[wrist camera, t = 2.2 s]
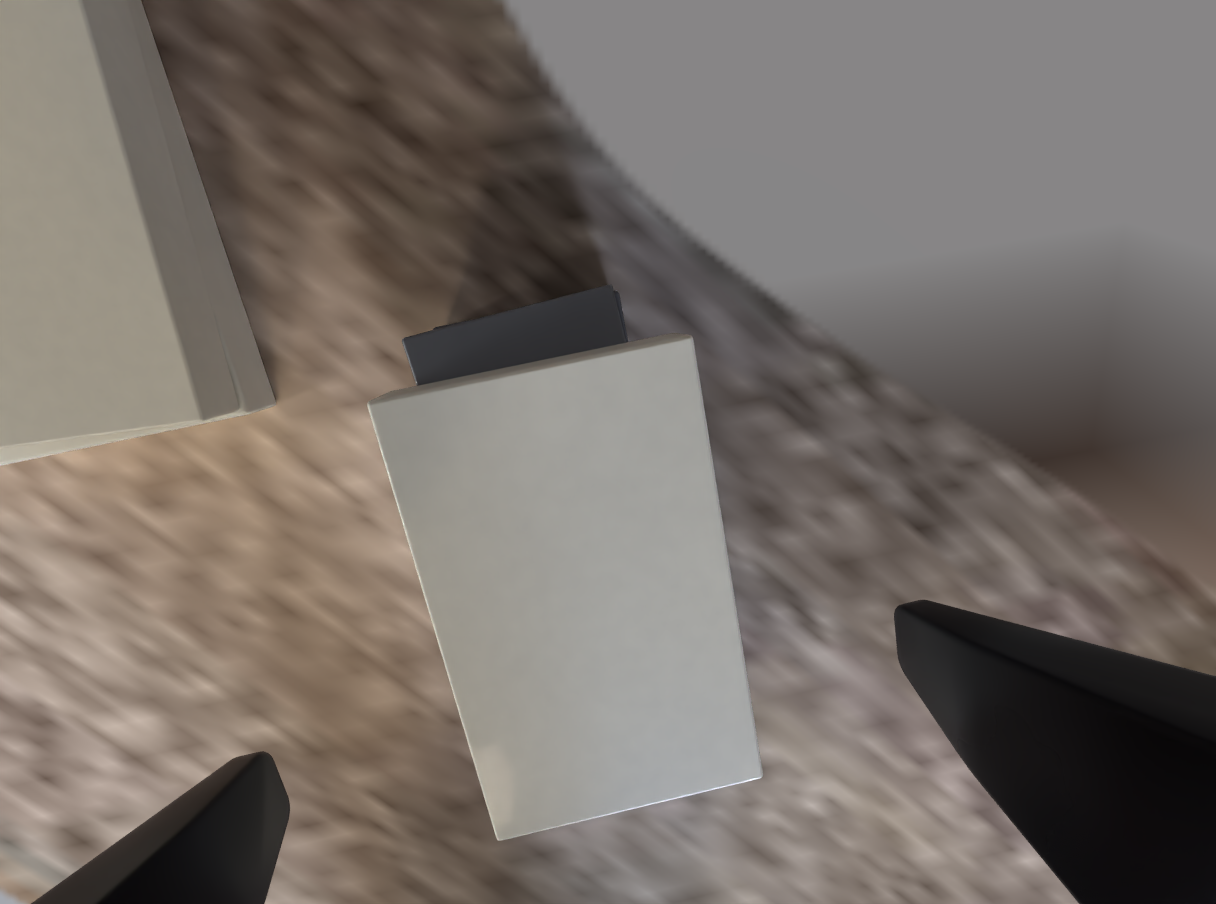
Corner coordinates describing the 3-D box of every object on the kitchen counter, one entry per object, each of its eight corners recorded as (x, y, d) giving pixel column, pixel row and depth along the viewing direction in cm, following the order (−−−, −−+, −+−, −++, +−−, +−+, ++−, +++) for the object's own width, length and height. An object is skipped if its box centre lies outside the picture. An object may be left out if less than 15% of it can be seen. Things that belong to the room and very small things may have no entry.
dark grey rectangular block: (696, 687, 17) (729, 773, 13) (537, 724, 16) (533, 819, 13) (621, 286, 14) (641, 278, 11) (432, 325, 14) (397, 327, 11)
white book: (743, 731, 13) (764, 778, 12) (502, 788, 13) (496, 843, 12) (676, 332, 11) (693, 334, 10) (387, 391, 11) (364, 401, 10)
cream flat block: (300, 400, 14) (238, 421, 11) (37, 454, 14) (-91, 488, 11) (149, -63, 12) (27, -177, 9) (-167, -8, 11) (-391, -109, 9)
